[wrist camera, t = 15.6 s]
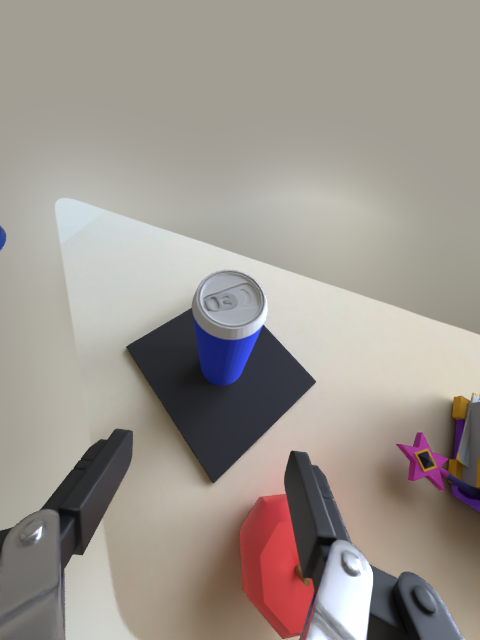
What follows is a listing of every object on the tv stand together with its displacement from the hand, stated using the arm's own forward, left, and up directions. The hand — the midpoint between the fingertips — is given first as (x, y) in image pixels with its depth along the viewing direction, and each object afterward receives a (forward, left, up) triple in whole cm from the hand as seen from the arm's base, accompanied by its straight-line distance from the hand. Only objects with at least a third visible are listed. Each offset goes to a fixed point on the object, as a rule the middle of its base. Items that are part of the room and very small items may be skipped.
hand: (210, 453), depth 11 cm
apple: (0, -10, -15) cm, 17 cm away
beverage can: (+6, +6, -14) cm, 16 cm away
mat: (+6, +6, -14) cm, 17 cm away
